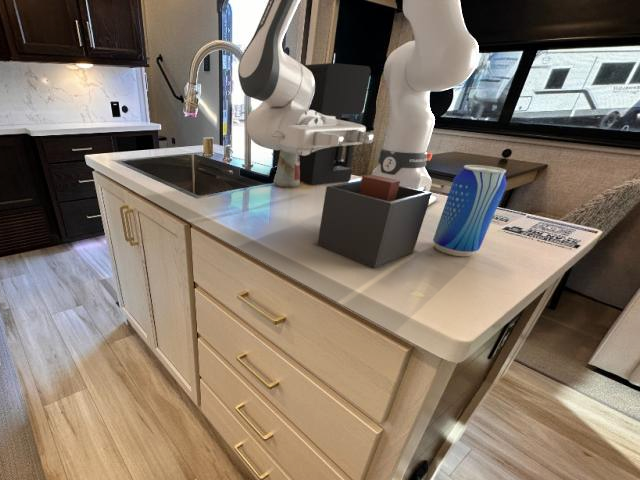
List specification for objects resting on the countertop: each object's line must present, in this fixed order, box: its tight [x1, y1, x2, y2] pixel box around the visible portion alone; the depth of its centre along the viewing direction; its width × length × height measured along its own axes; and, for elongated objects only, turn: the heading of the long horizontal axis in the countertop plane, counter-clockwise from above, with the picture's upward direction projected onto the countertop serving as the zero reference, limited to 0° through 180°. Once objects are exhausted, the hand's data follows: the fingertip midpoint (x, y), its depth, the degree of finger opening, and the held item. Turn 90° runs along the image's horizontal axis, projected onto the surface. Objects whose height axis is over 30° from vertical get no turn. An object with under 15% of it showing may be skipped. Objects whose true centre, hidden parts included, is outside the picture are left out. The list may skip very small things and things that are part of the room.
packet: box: [359, 174, 400, 202], centre depth 65 cm, size 3×6×13 cm, turn 38°
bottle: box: [273, 150, 301, 189], centre depth 108 cm, size 9×9×28 cm
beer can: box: [432, 164, 508, 257], centre depth 66 cm, size 8×8×16 cm
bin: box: [317, 179, 433, 269], centre depth 66 cm, size 14×14×12 cm
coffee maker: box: [271, 62, 371, 186], centre depth 118 cm, size 28×20×35 cm
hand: (356, 139), depth 64 cm, fingers open, 8 cm apart
